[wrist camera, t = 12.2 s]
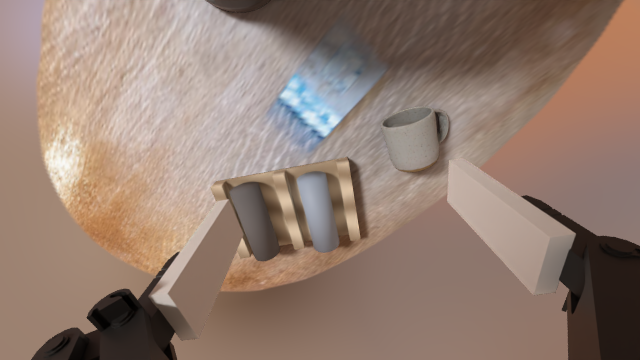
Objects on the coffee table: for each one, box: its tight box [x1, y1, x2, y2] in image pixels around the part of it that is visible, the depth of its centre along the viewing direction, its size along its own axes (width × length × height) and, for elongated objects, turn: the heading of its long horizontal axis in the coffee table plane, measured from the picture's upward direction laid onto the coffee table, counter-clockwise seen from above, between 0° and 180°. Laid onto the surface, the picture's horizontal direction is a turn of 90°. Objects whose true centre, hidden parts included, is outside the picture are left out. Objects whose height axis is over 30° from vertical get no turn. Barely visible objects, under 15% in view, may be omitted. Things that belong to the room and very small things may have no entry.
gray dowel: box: [297, 171, 339, 253], centre depth 43 cm, size 14×5×5 cm, turn 11°
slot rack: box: [211, 157, 361, 258], centre depth 45 cm, size 16×24×3 cm, turn 101°
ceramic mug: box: [381, 106, 449, 172], centre depth 37 cm, size 11×8×8 cm
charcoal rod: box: [230, 182, 280, 261], centre depth 44 cm, size 14×5×5 cm
